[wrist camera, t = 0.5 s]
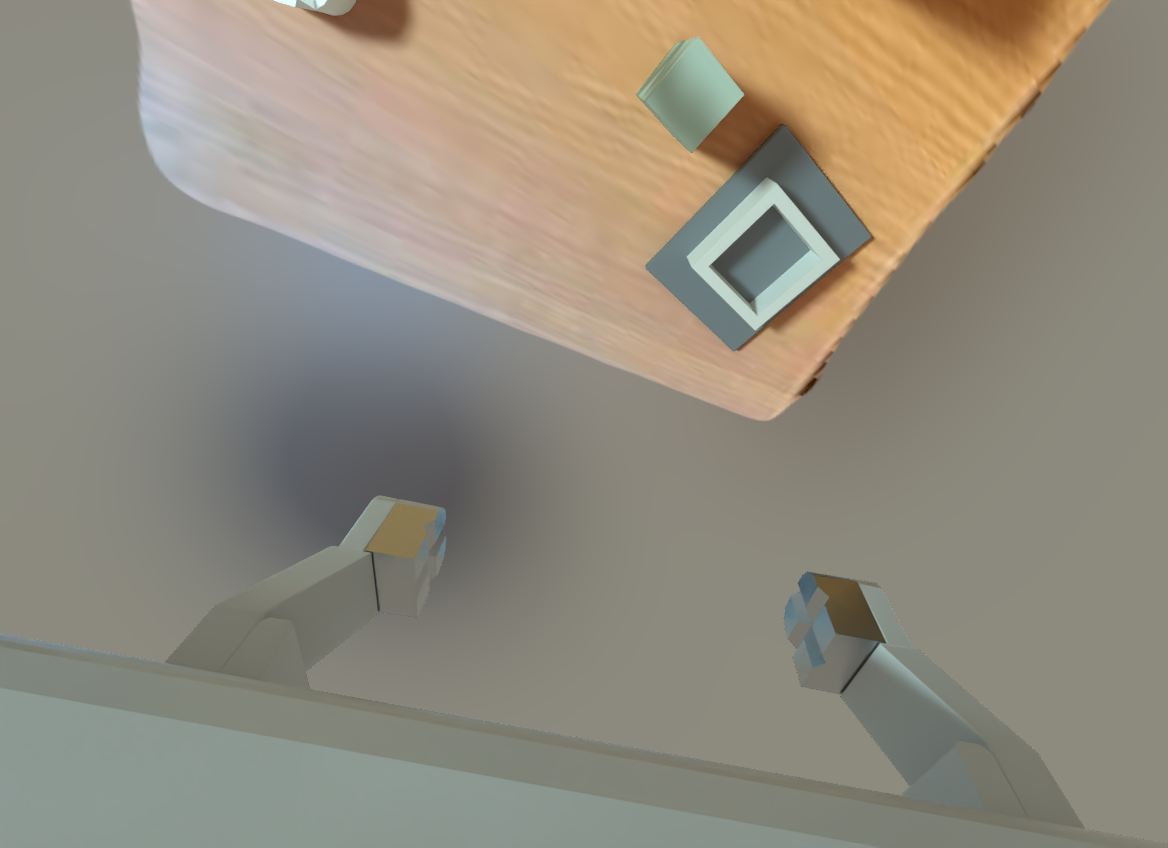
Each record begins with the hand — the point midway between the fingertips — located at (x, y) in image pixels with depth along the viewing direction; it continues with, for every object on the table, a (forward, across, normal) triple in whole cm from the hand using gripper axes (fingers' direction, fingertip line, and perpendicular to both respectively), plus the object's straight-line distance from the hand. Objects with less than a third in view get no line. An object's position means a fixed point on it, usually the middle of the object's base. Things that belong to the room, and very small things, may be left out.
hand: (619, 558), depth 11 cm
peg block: (+48, -1, -11) cm, 49 cm away
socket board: (+49, -13, +2) cm, 51 cm away
